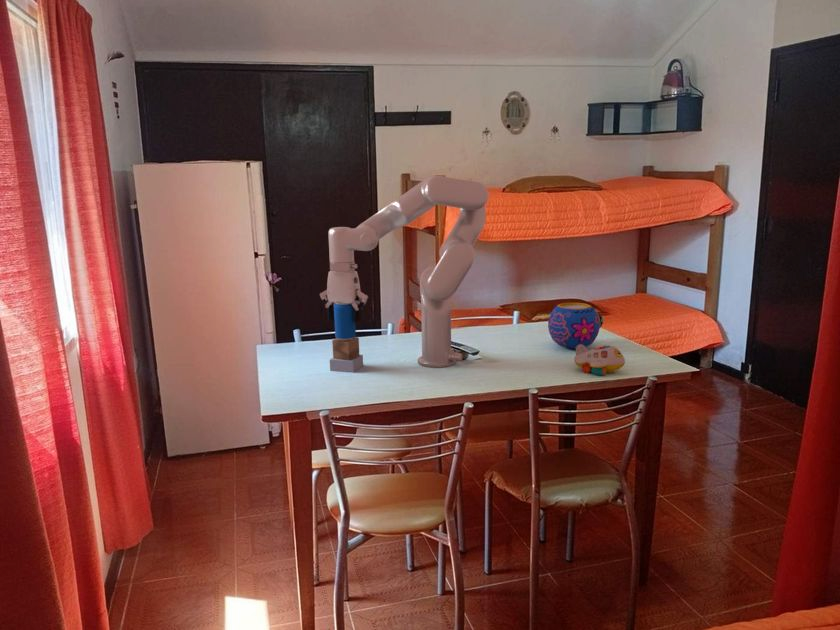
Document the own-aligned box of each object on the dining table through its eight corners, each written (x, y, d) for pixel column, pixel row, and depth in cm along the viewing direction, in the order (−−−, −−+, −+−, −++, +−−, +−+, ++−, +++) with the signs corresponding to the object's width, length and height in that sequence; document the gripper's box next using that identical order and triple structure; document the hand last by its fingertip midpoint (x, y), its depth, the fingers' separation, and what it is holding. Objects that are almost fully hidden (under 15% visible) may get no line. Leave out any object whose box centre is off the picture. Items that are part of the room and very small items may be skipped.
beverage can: (357, 335, 216) (355, 299, 213) (354, 341, 210) (352, 304, 207) (337, 335, 216) (335, 299, 213) (333, 341, 210) (331, 304, 207)
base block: (363, 366, 217) (362, 354, 217) (353, 373, 210) (352, 361, 209) (340, 365, 220) (340, 353, 219) (330, 371, 212) (329, 359, 212)
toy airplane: (576, 339, 213) (625, 339, 208) (577, 365, 215) (626, 366, 210) (571, 350, 201) (623, 350, 196) (572, 378, 202) (624, 379, 197)
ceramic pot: (610, 348, 233) (611, 305, 230) (574, 356, 223) (575, 312, 220) (572, 338, 247) (573, 298, 244) (537, 346, 237) (537, 304, 234)
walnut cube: (359, 355, 215) (358, 337, 214) (348, 360, 210) (348, 342, 209) (344, 353, 218) (343, 335, 217) (333, 358, 213) (332, 340, 212)
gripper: (372, 266, 208) (374, 320, 211) (325, 264, 215) (328, 316, 219) (359, 270, 201) (361, 325, 205) (312, 267, 209) (315, 321, 212)
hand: (344, 320), depth 212 cm, fingers open, 9 cm apart
